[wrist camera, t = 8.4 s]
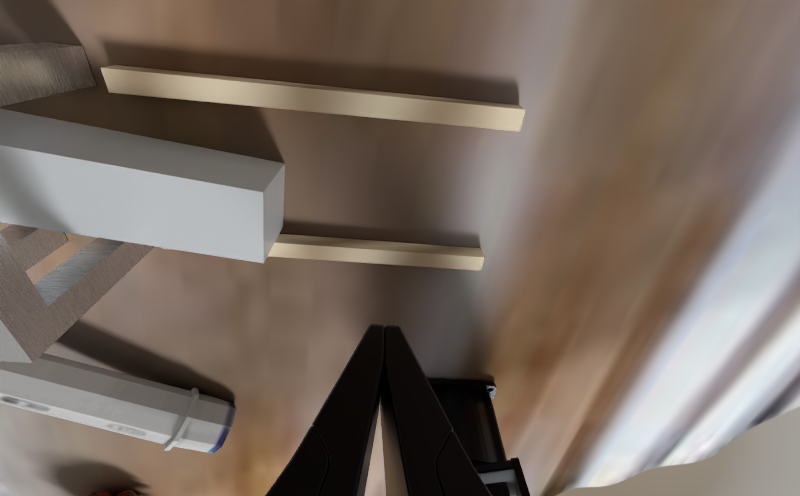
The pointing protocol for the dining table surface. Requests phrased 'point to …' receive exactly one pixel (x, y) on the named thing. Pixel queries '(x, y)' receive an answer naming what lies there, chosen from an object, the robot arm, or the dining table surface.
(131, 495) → the dragon fruit
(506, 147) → the dining table surface
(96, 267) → the slotted u bracket
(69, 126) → the gray rectangular bar
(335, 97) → the guide rails
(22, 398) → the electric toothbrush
